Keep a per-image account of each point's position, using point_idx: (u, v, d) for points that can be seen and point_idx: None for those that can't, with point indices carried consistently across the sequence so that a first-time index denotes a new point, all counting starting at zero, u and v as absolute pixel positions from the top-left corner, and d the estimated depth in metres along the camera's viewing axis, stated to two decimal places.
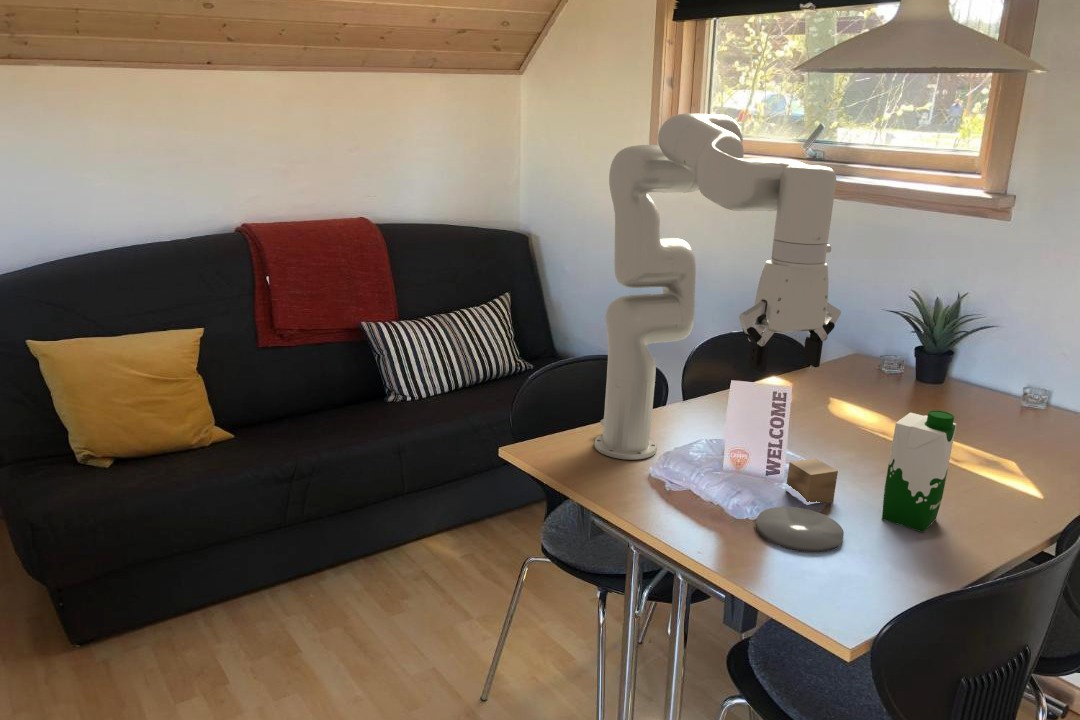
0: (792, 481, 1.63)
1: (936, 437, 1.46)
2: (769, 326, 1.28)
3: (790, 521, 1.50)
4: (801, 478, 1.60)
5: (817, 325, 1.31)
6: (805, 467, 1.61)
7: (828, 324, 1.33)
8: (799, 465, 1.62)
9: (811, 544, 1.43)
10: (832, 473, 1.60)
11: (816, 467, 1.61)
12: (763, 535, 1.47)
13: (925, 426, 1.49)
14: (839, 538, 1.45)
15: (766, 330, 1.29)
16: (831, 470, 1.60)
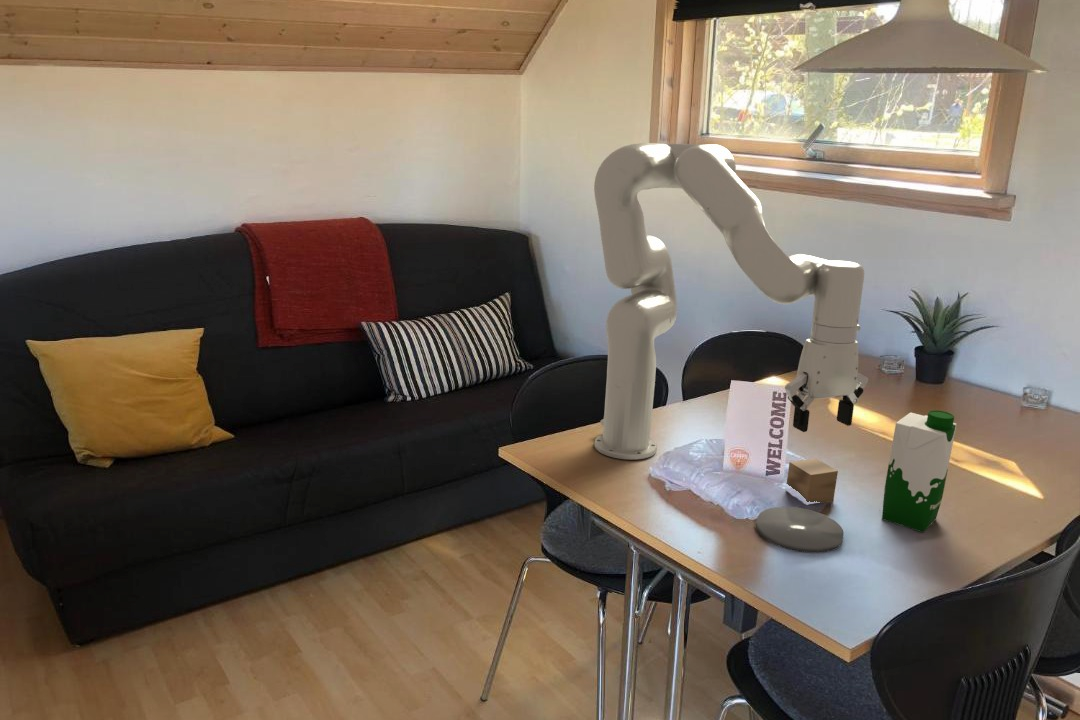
0: (792, 481, 1.63)
1: (936, 437, 1.46)
2: (810, 394, 1.54)
3: (790, 521, 1.50)
4: (801, 478, 1.60)
5: (849, 391, 1.57)
6: (805, 467, 1.61)
7: (858, 389, 1.59)
8: (799, 465, 1.62)
9: (811, 544, 1.43)
10: (832, 473, 1.60)
11: (816, 467, 1.61)
12: (763, 535, 1.47)
13: (925, 426, 1.49)
14: (839, 538, 1.45)
15: (807, 397, 1.54)
16: (831, 470, 1.60)
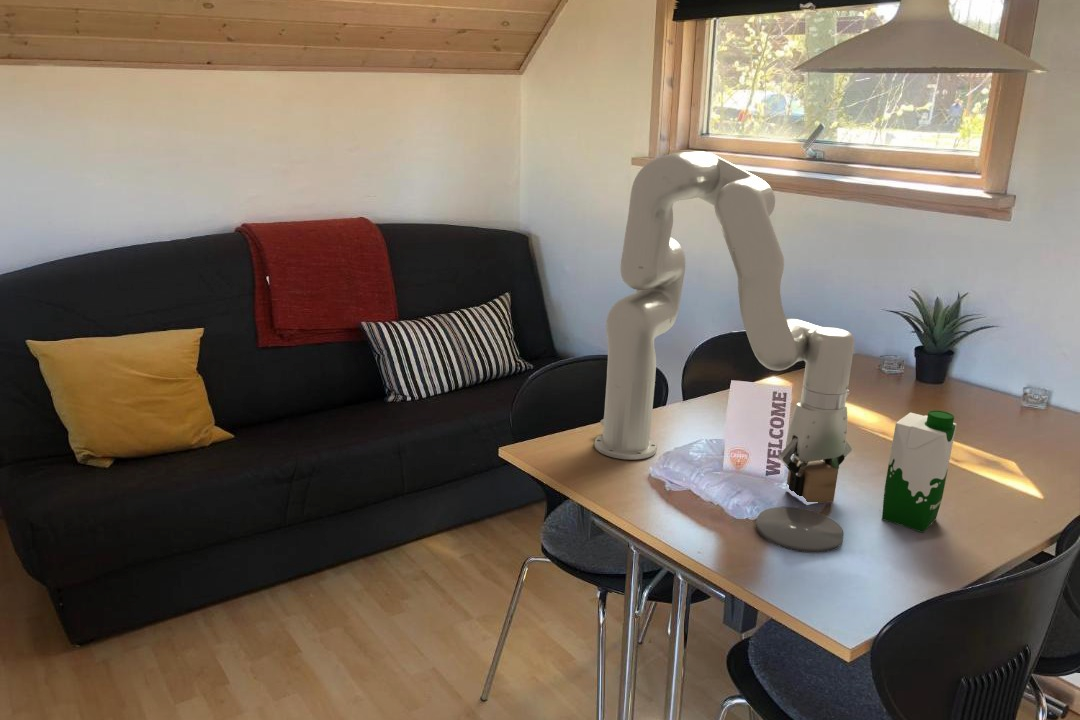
0: None
1: (936, 437, 1.46)
2: (799, 457, 1.57)
3: (790, 521, 1.50)
4: None
5: (838, 454, 1.60)
6: None
7: (839, 457, 1.62)
8: None
9: (811, 544, 1.43)
10: (832, 473, 1.60)
11: (816, 467, 1.61)
12: (763, 535, 1.47)
13: (925, 426, 1.49)
14: (839, 538, 1.45)
15: (801, 464, 1.59)
16: (831, 470, 1.60)
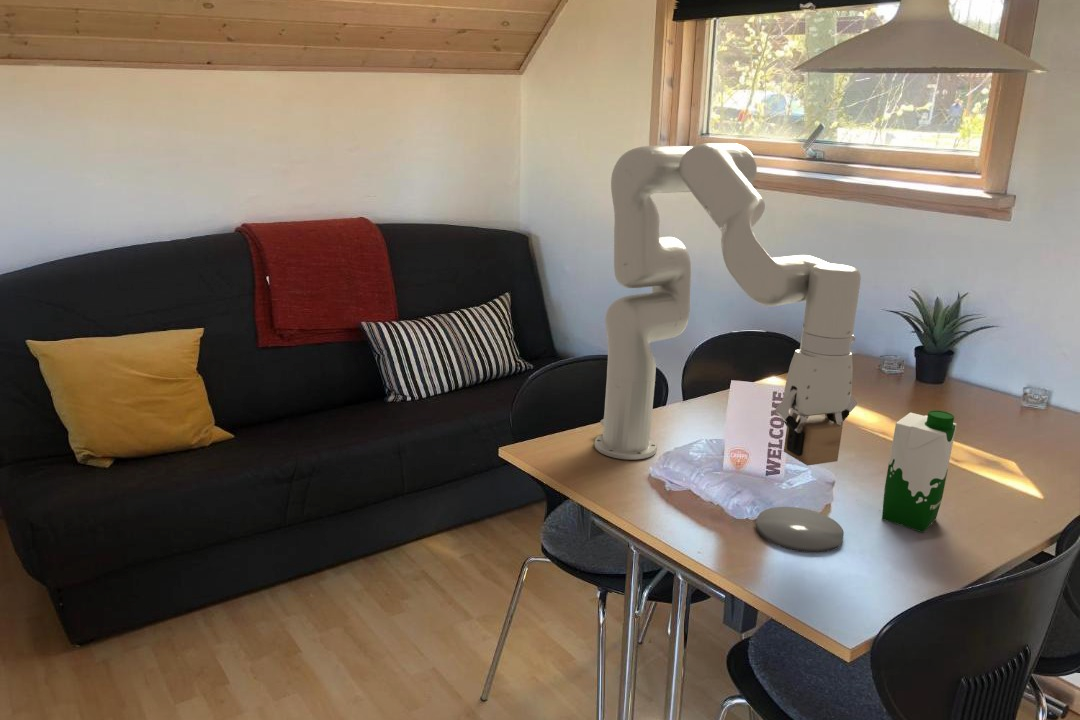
0: None
1: (936, 437, 1.46)
2: (799, 411, 1.40)
3: (790, 521, 1.50)
4: None
5: (842, 408, 1.42)
6: (806, 422, 1.43)
7: (843, 412, 1.45)
8: None
9: (811, 544, 1.43)
10: (836, 429, 1.42)
11: (818, 423, 1.43)
12: (763, 535, 1.47)
13: (925, 426, 1.49)
14: (839, 538, 1.45)
15: (800, 418, 1.41)
16: (835, 425, 1.42)
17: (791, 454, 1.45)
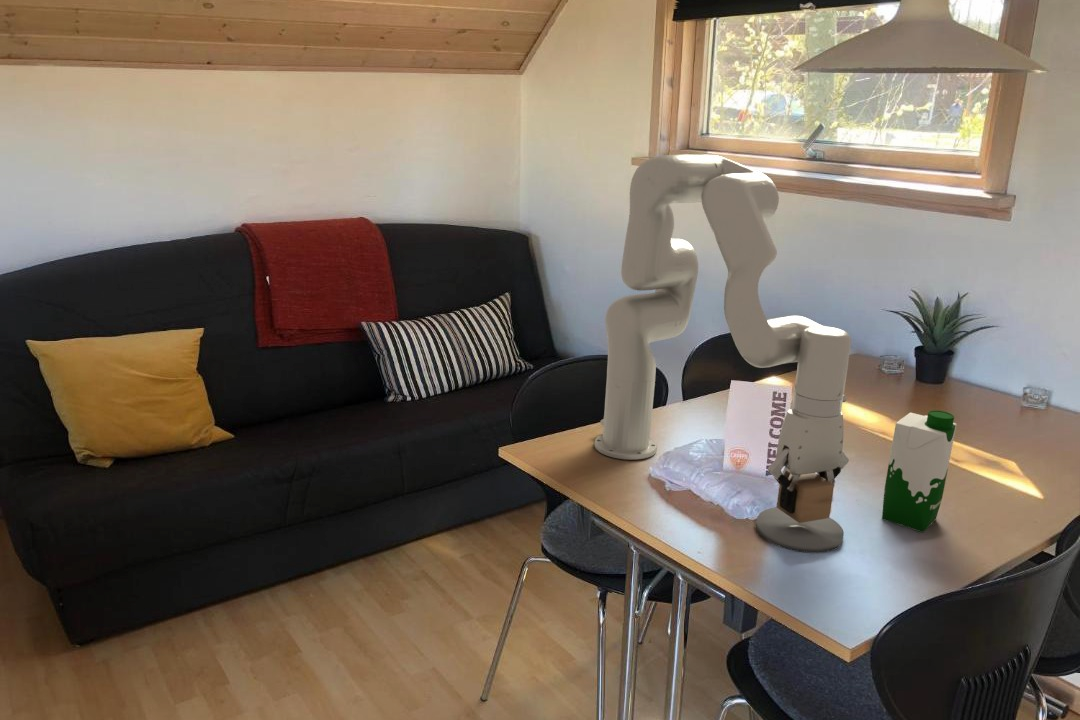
0: None
1: (936, 437, 1.46)
2: (791, 470, 1.42)
3: (790, 521, 1.50)
4: None
5: (833, 466, 1.45)
6: (798, 480, 1.46)
7: (835, 469, 1.47)
8: None
9: (811, 544, 1.43)
10: (828, 487, 1.45)
11: (810, 480, 1.46)
12: (763, 535, 1.47)
13: (925, 426, 1.49)
14: (839, 538, 1.45)
15: (792, 477, 1.44)
16: (827, 483, 1.45)
17: (784, 511, 1.48)
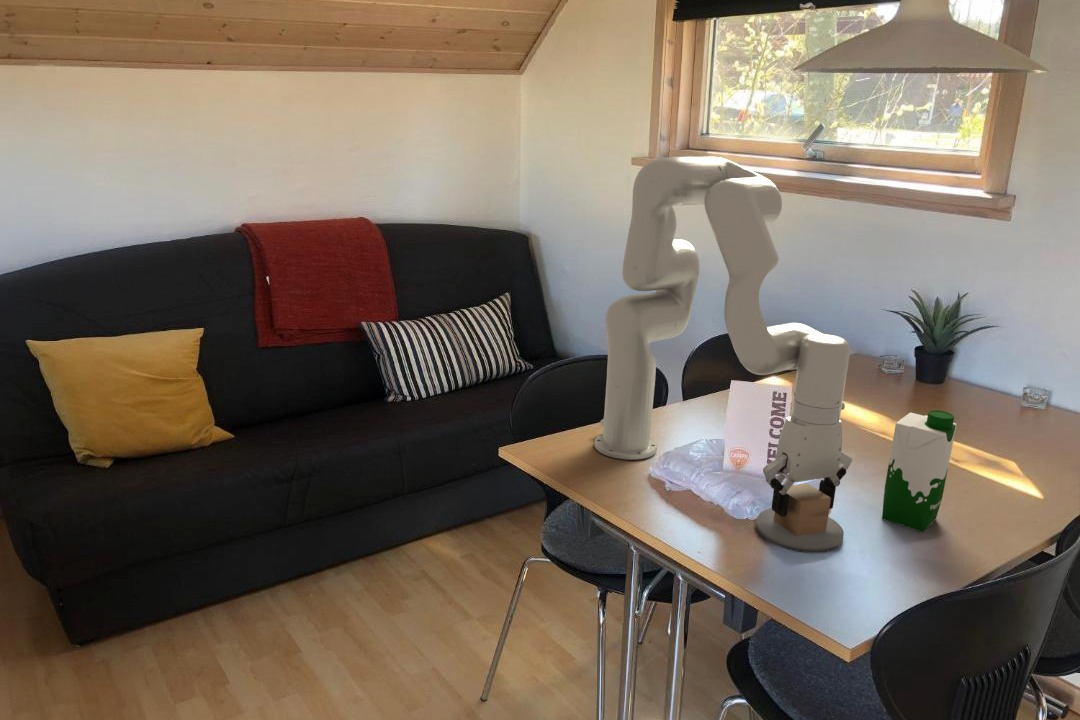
0: None
1: (936, 437, 1.46)
2: (789, 477, 1.43)
3: None
4: (791, 506, 1.46)
5: (832, 473, 1.46)
6: (795, 494, 1.47)
7: (840, 471, 1.48)
8: (788, 491, 1.48)
9: (811, 544, 1.43)
10: (825, 500, 1.45)
11: (807, 494, 1.47)
12: (763, 535, 1.47)
13: (925, 426, 1.49)
14: (839, 538, 1.45)
15: (787, 481, 1.43)
16: (823, 497, 1.46)
17: (781, 523, 1.49)
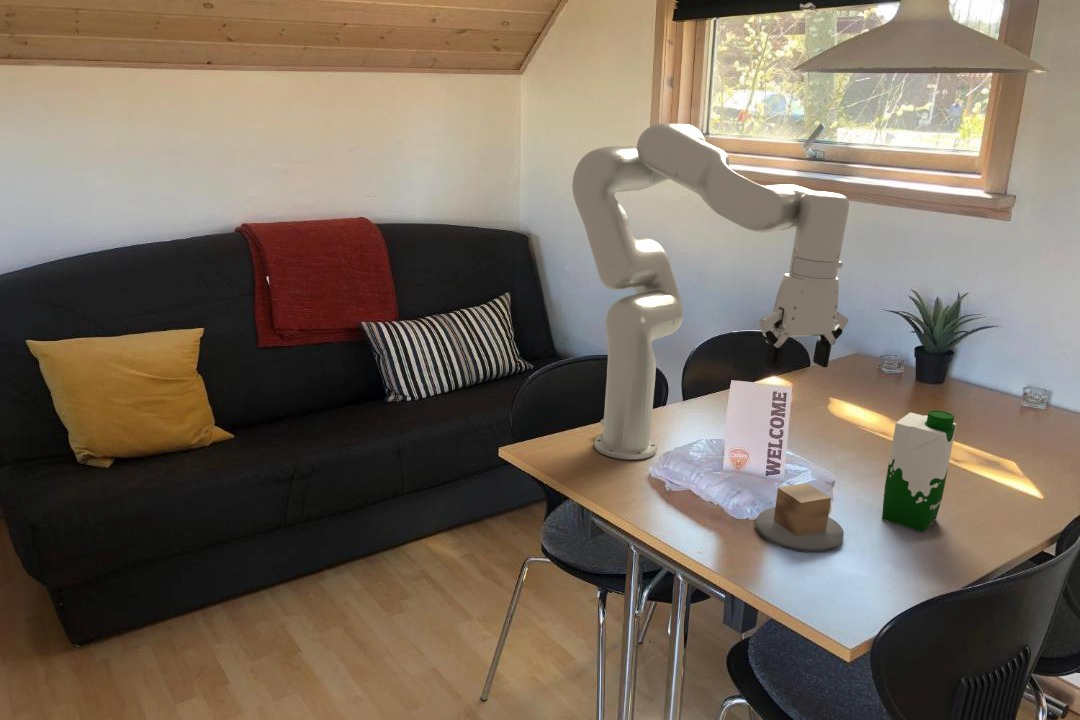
0: (781, 508, 1.48)
1: (936, 437, 1.46)
2: (785, 331, 1.47)
3: None
4: (791, 506, 1.46)
5: (827, 331, 1.50)
6: (795, 494, 1.47)
7: (837, 330, 1.52)
8: (788, 491, 1.48)
9: (811, 544, 1.43)
10: (825, 500, 1.45)
11: (807, 494, 1.47)
12: (763, 535, 1.47)
13: (925, 426, 1.49)
14: (839, 538, 1.45)
15: (782, 334, 1.48)
16: (823, 497, 1.46)
17: (781, 523, 1.49)
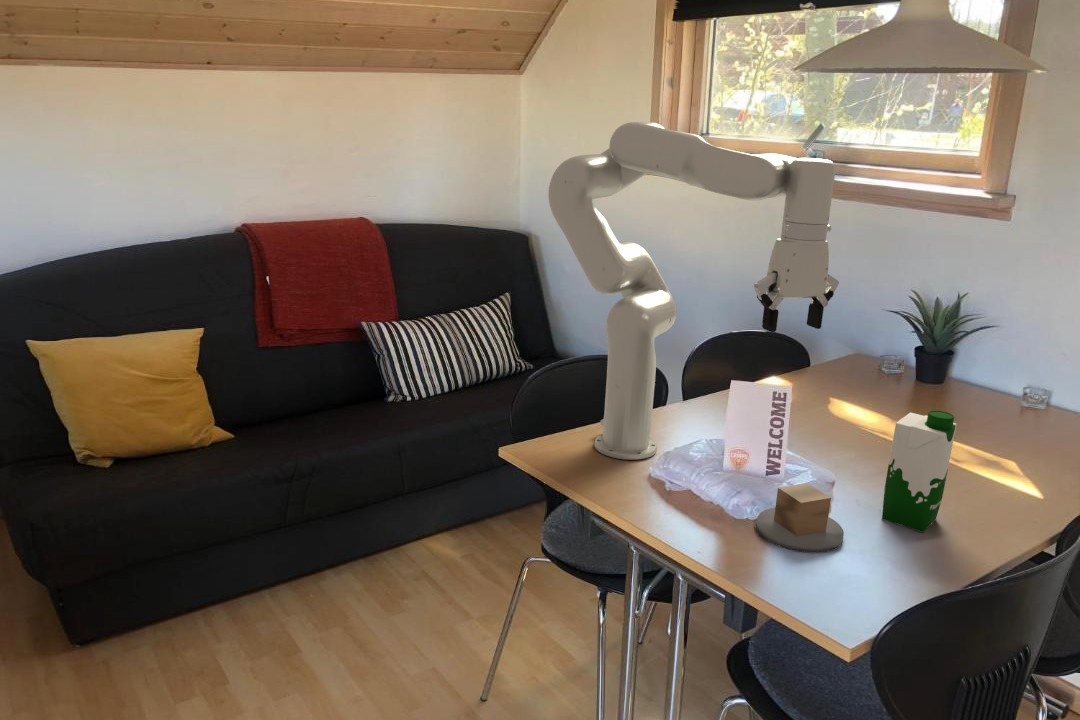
0: (781, 508, 1.48)
1: (936, 437, 1.46)
2: (779, 293, 1.53)
3: None
4: (791, 506, 1.46)
5: (819, 293, 1.56)
6: (795, 494, 1.47)
7: (828, 292, 1.58)
8: (788, 491, 1.48)
9: (811, 544, 1.43)
10: (825, 500, 1.45)
11: (807, 494, 1.47)
12: (763, 535, 1.47)
13: (925, 426, 1.49)
14: (839, 538, 1.45)
15: (777, 296, 1.54)
16: (823, 497, 1.46)
17: (781, 523, 1.49)
